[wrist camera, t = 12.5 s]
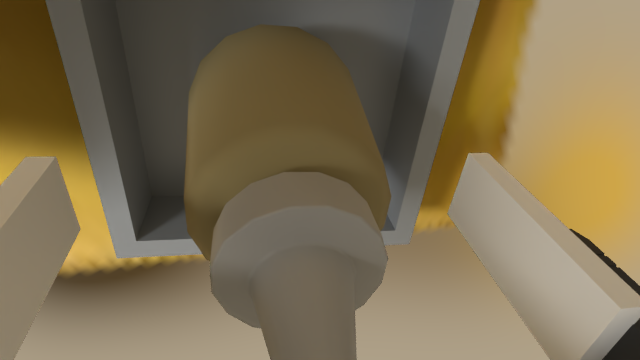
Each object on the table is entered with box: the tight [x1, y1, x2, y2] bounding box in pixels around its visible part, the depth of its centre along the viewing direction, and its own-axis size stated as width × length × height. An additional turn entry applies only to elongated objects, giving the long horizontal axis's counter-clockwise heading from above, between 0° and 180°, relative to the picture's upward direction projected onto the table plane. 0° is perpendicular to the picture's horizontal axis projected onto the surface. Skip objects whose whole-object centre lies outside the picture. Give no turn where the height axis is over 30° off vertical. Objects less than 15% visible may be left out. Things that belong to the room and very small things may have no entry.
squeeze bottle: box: [184, 24, 391, 360], centre depth 14 cm, size 8×8×18 cm
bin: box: [45, 0, 480, 258], centre depth 20 cm, size 17×17×5 cm
